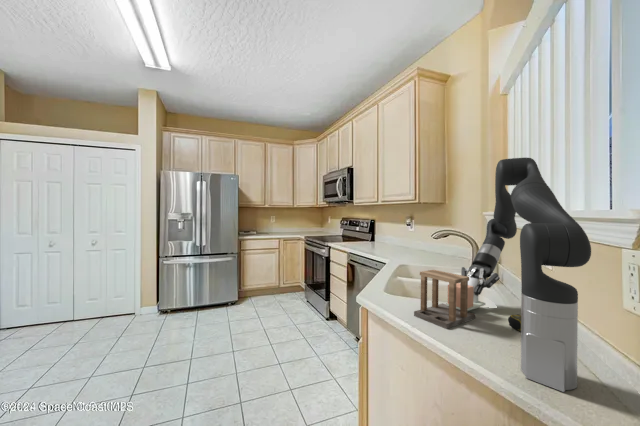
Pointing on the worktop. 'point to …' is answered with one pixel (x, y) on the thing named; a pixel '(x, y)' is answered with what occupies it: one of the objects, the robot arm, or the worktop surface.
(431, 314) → the brown table-shaped piece
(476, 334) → the worktop surface
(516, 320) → the tape measure
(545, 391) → the worktop surface
